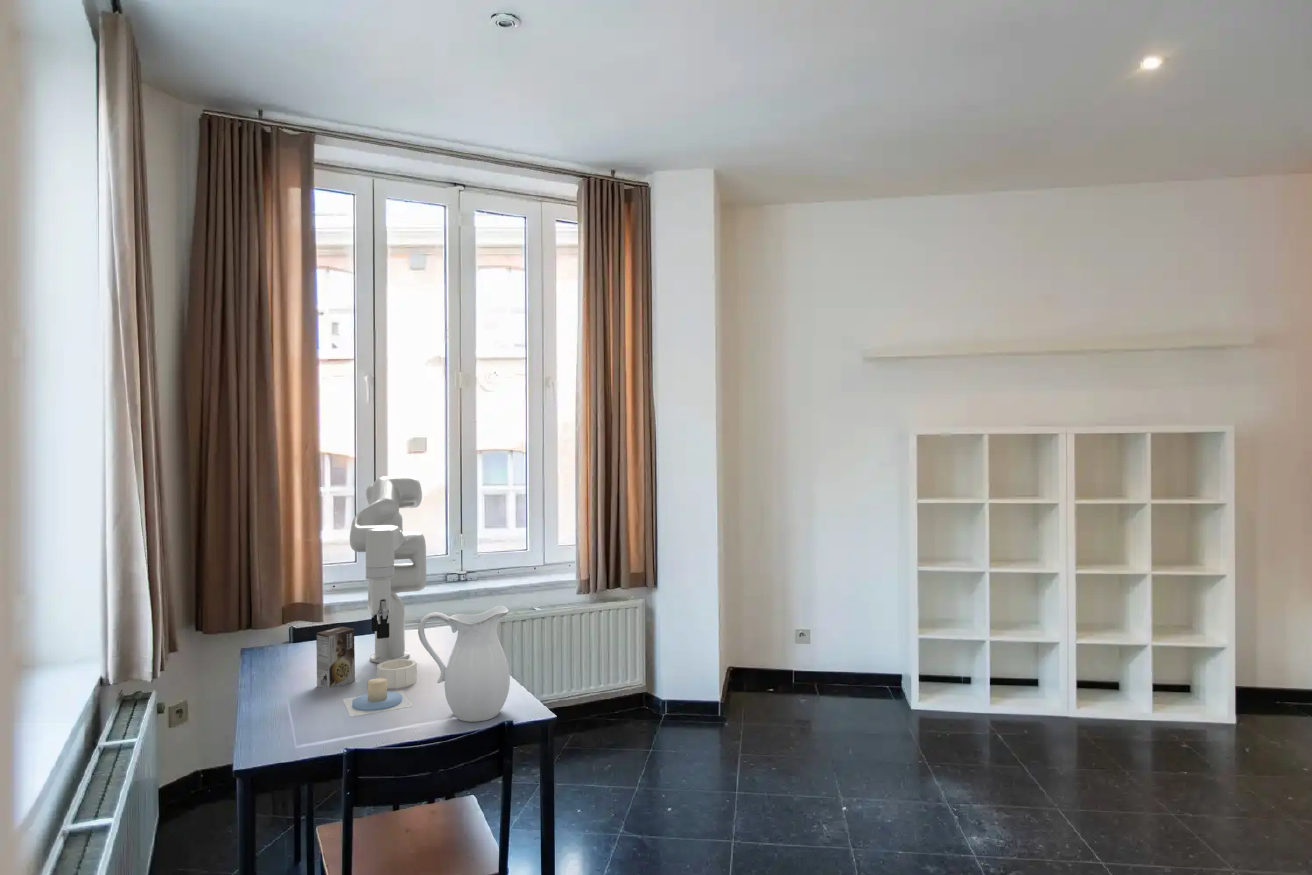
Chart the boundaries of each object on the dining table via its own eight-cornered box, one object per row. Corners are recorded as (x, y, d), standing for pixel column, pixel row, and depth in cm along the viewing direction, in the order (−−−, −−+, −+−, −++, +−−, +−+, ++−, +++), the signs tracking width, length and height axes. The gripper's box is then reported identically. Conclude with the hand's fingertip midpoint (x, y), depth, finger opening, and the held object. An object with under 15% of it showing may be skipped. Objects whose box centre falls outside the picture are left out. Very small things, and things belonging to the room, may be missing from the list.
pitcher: (514, 703, 211) (513, 603, 211) (504, 725, 194) (503, 616, 194) (427, 704, 210) (427, 604, 210) (410, 727, 193) (409, 618, 193)
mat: (343, 701, 213) (343, 698, 213) (401, 691, 221) (401, 689, 221) (350, 719, 199) (350, 716, 199) (413, 708, 207) (412, 706, 207)
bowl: (374, 682, 230) (374, 662, 230) (412, 676, 236) (412, 657, 236) (380, 692, 221) (380, 671, 221) (419, 686, 226) (419, 666, 226)
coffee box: (342, 677, 235) (341, 625, 235) (355, 681, 231) (355, 628, 232) (315, 686, 227) (315, 632, 227) (329, 689, 224) (329, 634, 224)
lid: (349, 699, 213) (349, 678, 213) (397, 692, 219) (397, 671, 219) (355, 714, 201) (355, 691, 202) (406, 705, 208) (406, 683, 208)
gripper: (361, 569, 217) (361, 629, 216) (370, 578, 202) (370, 642, 201) (389, 567, 220) (389, 626, 220) (399, 575, 205) (399, 639, 205)
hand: (380, 634), depth 211 cm, fingers open, 9 cm apart
